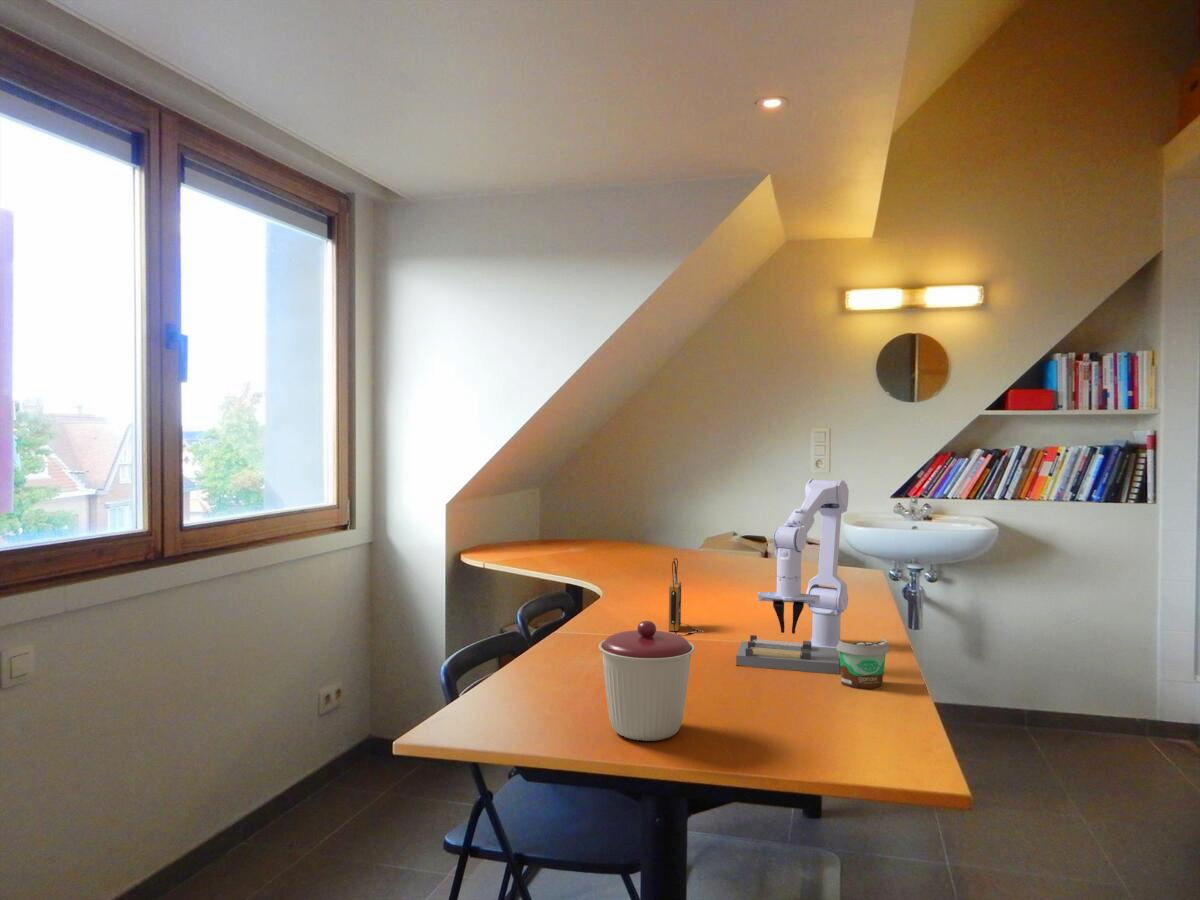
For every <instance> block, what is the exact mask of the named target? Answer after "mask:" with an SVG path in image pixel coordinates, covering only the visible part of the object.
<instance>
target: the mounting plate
mask: <svg viewBox="0 0 1200 900" xmlns="http://www.w3.org/2000/svg"><path fill="white" fill-rule="evenodd" d="M749 636H750V637H749V640H748V641H745V640H744V641H742V640H741V642H740V645H739V647H738V650H737V652H736V656H735V658H736V661H735V666H736V665H743V666H742V667H745V666H752V667H751V668H757V667H762V668H761V669H769V668H775V669H774V670H781V669H785V670H784V671H794V670H796V671H797V672H805V673H806V672H807V673H820V674H831V675H840V655H839V651H838V650H836V649H837V648H826V647H812V646H811V640H803V642H802V647H801V650H792V651H801V656H800V659H792V658H781V657H769V656H758V655H753V648H750V647H755V642H754V641H753V639H758V635H754V634H750V635H749ZM757 648H765V647H757ZM768 649H777V648H768ZM780 650H788V649H780ZM796 671H795V672H796Z"/></svg>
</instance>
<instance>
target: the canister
mask: <svg viewBox="0 0 1200 900" xmlns="http://www.w3.org/2000/svg"><path fill="white" fill-rule="evenodd" d="M636 629H637V630H635V629H634V630H626V631H621V632H616V633H614V634H611V635H609V636H608V637H607V638H605V639H603V640H601V641H600V642H599V644H598V649H599V651H600V652H601V653H602V664H603V675H604V684H605V686H604V687H605V695H606V703H607V711H608V718H609V722H610V725H611V727H612V729H613V730H614V731H615V732H616V733H617V734H618V735H620V736H622V737H623V736H624V737H623V738H625V739H626V738H627V739H629V740H635V741H639V740H640V741H641V740H642V741H643V742H653V741H662V740H665V739H669V738H671V737H673V736H674V735H676V734H677V733H678V731H679V730H680V728H681V726H682V722H683V720H684V719H683V718H684V712H685V707H686V699H687V691H688V684H689V676H690V668H691V666H690V665H691V659H692V658H691V656H692V654H693V653H694V652H695V650H696V649H695V645H694V644H693V643H692V642H691V641H688V639H686V638H685V637H683V636H680V634H679V635H677V634H675V633H673V632H669V631H662V630H657V626H656V624H655V623H654V622H652V621H651V620H643V621H640V622H639V623H638V625H637V628H636ZM642 741H641V742H642Z"/></svg>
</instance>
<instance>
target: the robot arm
mask: <svg viewBox="0 0 1200 900" xmlns="http://www.w3.org/2000/svg"><path fill="white" fill-rule="evenodd" d="M849 493H850V491H849V487H848V484H847V483H846V481H845V480H830V479H814V478H809V480H808V481H807V482H806V484H805V487H804V495H805V499H804V501H802V505H801V506H800V507H797V508H796V509H794V510H793V511H792V513H791V514H790V515H789V517H788V518H787V520H786V521H785V523H784V524H783V525H780V526H778V527H777V528H775V530H774V532H773V536H772V543H773V544H772V545H773V547H774V556H775V557H776V591H758V592H757V602H772V603H773V604H772V607H773V609H774V611H775V614H776V616H777V619H778V622H779V626H780V633H782V634H784V633H785V603H790V604H791V603H792V624H791V625H792V626H791V634H792V635H795V634H796V627H797V624H798V621H799V618H800V616H801V614H802V611H803V610H804V605H805V604H806V605H807V608H808V609H810V610H809V611H810V612H812V621H811V622H812V625H811V626H812V630H811V632H812V633H811V637H810V641H811V646H812V647H826V648H837V644H839V641H841V642H843V641H842V639H841V626H842V625H841V618H842V615H841V614H842V613H844V612H845V611H846V610H847V609H848V608H847V607H848V605H849V593H848V584H847V582H846V581H844V580H843V578H841V577H840V576H839V575H838V567H839V551H840V539H841V538H840V537H841V521H842V514H843V513H846V512H847V511H848V505H849ZM818 512H819V513H820V514H821V526H820V527H821V528H820V540H819V554H818V555H819V557H818V558H819V559H818V573H817V574H816V575H815V576H813V577H812V578H810V579H809V580H808V583H807V589H806V593H802V551H803V550H805V547H806V544H807V540H808V533H809V532H810V530H811V529H812V526H813V525H814V523H815V514H816V513H818Z"/></svg>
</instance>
